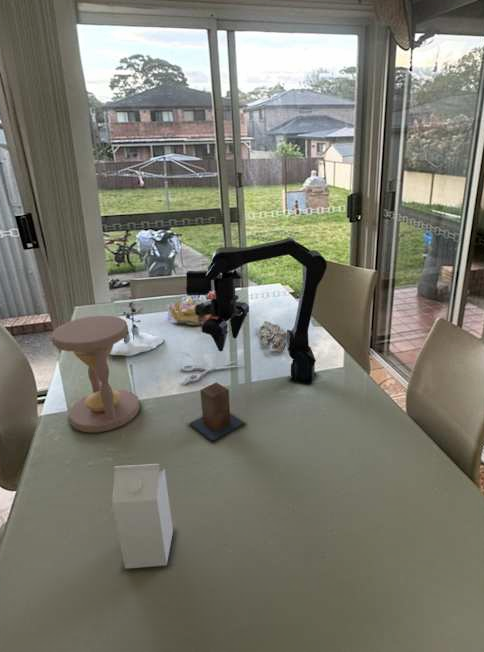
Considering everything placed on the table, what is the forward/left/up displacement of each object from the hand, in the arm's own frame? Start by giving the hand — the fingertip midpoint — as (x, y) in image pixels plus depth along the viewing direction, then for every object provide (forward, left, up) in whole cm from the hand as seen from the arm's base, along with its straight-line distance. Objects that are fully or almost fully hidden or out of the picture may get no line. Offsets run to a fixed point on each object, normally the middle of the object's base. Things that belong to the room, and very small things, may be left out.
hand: (228, 344), depth 128 cm
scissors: (+9, -5, -13) cm, 17 cm away
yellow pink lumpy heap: (+37, -45, -13) cm, 60 cm away
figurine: (+43, -11, -13) cm, 46 cm away
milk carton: (-12, +57, -13) cm, 60 cm away
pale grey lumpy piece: (-1, -33, -13) cm, 35 cm away
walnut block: (-6, +20, -12) cm, 24 cm away
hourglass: (+25, +25, -13) cm, 38 cm away
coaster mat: (-6, +20, -13) cm, 25 cm away
